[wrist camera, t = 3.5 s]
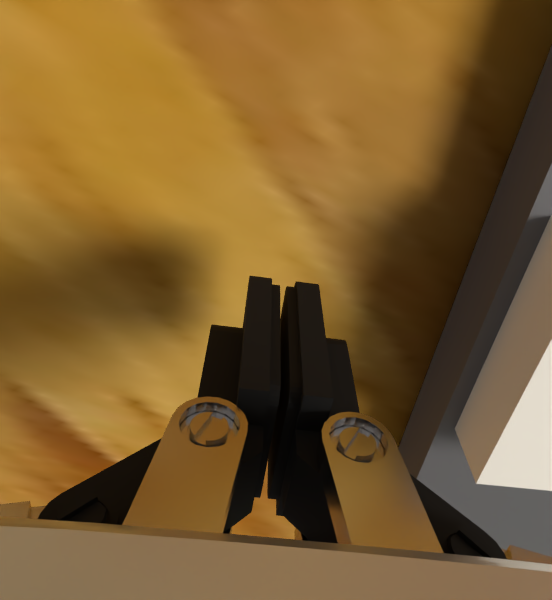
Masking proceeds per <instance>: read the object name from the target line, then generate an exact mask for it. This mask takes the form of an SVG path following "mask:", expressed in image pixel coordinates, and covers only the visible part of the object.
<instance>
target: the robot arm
mask: <svg viewBox="0 0 552 600" xmlns="http://www.w3.org/2000/svg"><path fill="white" fill-rule="evenodd" d="M267 461H268V498H269V499H276V515H279V516H284V517H285V518H286V519H287V520H288V521H289V522H290V523H292V524H293V525H294V526H295V527H296V529H295V540H292V539H281V538H270V537H258V536H247V535H235V534H231V532H232V526H234V525H235V524H236V523H237V522H239V521H240V520H241V519H243V518H244V517H245V516H247V515H248V514H249V513H251V511H252V506H253V501H254V497H259V498H260V496H261V491H262V486H263V481H264V476H265V471H266V466H267ZM0 600H552V557H549V556H546V555H543V554H539V553H536V552H533V551H529V550H526V549H523V548H519V547H516V546H513V545H509V547H508V548H507V550H505V549H502V548H500V546H499V545H498V544H497V542H496V541H495V540H494V539H493V538H491V537H490V536H489V535H488V534H487V533H486V532H485V531H484V530H482V529H481V528H480V527H478V526H477V525H476V524H474V523H473V522H472V521H471V520H469V519H468V518H467V517H465V516H464V515H463V514H462V513H460V512H459V511H458V510H456V509H455V508H454V507H452V506H451V505H450V504H449V503H447V502H446V501H445V500H443V499H442V498H441V497H439V496H438V495H437V494H436V493H434V492H433V491H432V490H430V489H429V488H428V487H426V486H425V485H424V484H423V483H421V482H420V481H419V480H417V479H416V478H415V477H413V476H412V475H411V474H410V473H409V472H408V469H407V467H406V465H405V462H404V460H403V458H402V456H401V453H400V451H399V449H398V446H397V444H396V442H395V439H394V438H393V436H392V434H391V433H390V431H389V430H388V429H387V428H386V427H385V426H384V425H383V424H382V423H381V422H379V421H378V420H376V419H374V418H372V417H371V416H368V415H365V414H362V413H360V412H359V407H358V402H357V396H356V391H355V385H354V380H353V375H352V369H351V364H350V358H349V353H348V348H347V344H346V341H345V340H338V339H330V338H326V336H325V328H324V321H323V313H322V305H321V298H320V290H319V285H318V284H312V283H303V282H296V283H295V286H294V287H288V286H287V287H286V291H285V296H284V302H283V307H282V313H281V319H280V285H272V279H271V278H263V277H255V276H250V277H249V284H248V292H247V299H246V307H245V314H244V322H243V328H236V327H228V326H219V325H211V329H210V335H209V340H208V345H207V351H206V356H205V361H204V367H203V372H202V377H201V382H200V388H199V393H198V398H195V399H192V400H189V401H186V402H185V403H184V404H182V405H181V406H179V407H178V408H177V409H176V411H175V412H174V414H173V415H172V417H171V419H170V421H169V424H168V426H167V428H166V430H165V432H164V435H163V437H162V438H161V439H160V440H158V441H156V442H154V443H152V444H150V445H149V446H147V447H145V448H143V449H141V450H140V451H138V452H136V453H134V454H132V455H130V456H129V457H127V458H125V459H123V460H121V461H120V462H118V463H116V464H114V465H112V466H110V467H109V468H107V469H105V470H103V471H101V472H100V473H98V474H96V475H94V476H92V477H90V478H89V479H87V480H85V481H83V482H81V483H80V484H78V485H76V486H74V487H72V488H70V489H69V490H67V491H65V492H63V493H61V494H60V495H59V496H57V497H56V498H54V499H53V500H52V501H50V502H49V503H48V504H47V506H39V507H31V504H30V501H27V502H18V503H9V504H0Z"/></svg>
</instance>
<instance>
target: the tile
mask: <svg viewBox="0 0 552 600" xmlns="http://www.w3.org/2000/svg"><path fill="white" fill-rule="evenodd" d="M455 431H456V433H457V436H458V438H459V441H460V444H461V446H462V449H463V451H464V454H465V457H466V459H467V462H468V464H469V467H470V469H471V472H472V475H473V477H474V480H475V482H476V484H485V485H495V486H506V487H516V488H526V489H537V490H547V491H552V216H551V217H550V219H549V221H548V223H547V226H546V228H545V230H544V232H543V234H542V237H541V239H540V241H539V243H538V245H537V248H536V250H535V252H534V254H533V257H532V259H531V261H530V263H529V265H528V268H527V270H526V272H525V274H524V276H523V279H522V281H521V283H520V285H519V288H518V290H517V292H516V294H515V296H514V299H513V301H512V303H511V305H510V307H509V310H508V312H507V314H506V316H505V319H504V321H503V323H502V325H501V327H500V330H499V332H498V334H497V336H496V338H495V341H494V343H493V345H492V347H491V350H490V352H489V354H488V356H487V358H486V361H485V363H484V365H483V367H482V369H481V372H480V374H479V376H478V378H477V381H476V383H475V385H474V387H473V389H472V392H471V394H470V396H469V398H468V400H467V403H466V405H465V407H464V409H463V412H462V414H461V416H460V418H459V420H458V423H457V425H456V427H455Z"/></svg>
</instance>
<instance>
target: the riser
mask: <svg viewBox="0 0 552 600" xmlns="http://www.w3.org/2000/svg"><path fill="white" fill-rule="evenodd" d="M551 216H552V46H551V49H550V51H549V54H548V56H547V59H546V62H545V64H544V67H543V70H542V72H541V75H540V77H539V80H538V83H537V85H536V88H535V91H534V93H533V96H532V98H531V101H530V104H529V106H528V109H527V112H526V114H525V117H524V119H523V122H522V125H521V127H520V130H519V133H518V135H517V138H516V140H515V143H514V146H513V148H512V151H511V154H510V156H509V159H508V161H507V164H506V167H505V169H504V172H503V175H502V177H501V180H500V182H499V185H498V188H497V190H496V193H495V196H494V198H493V201H492V203H491V206H490V209H489V211H488V214H487V217H486V219H485V222H484V224H483V227H482V230H481V232H480V235H479V238H478V240H477V243H476V245H475V248H474V251H473V253H472V256H471V259H470V261H469V264H468V266H467V269H466V272H465V274H464V277H463V280H462V282H461V285H460V287H459V290H458V293H457V295H456V298H455V301H454V303H453V306H452V308H451V311H450V314H449V316H448V319H447V322H446V324H445V327H444V329H443V332H442V335H441V337H440V340H439V343H438V345H437V348H436V350H435V353H434V356H433V358H432V361H431V364H430V366H429V369H428V371H427V374H426V377H425V379H424V382H423V385H422V387H421V390H420V392H419V395H418V398H417V400H416V403H415V406H414V408H413V411H412V413H411V416H410V419H409V421H408V424H407V427H406V429H405V432H404V434H403V437H402V440H401V442H400V445H399V448H398V449H399V451H400V453H401V456H402V458H403V460H404V462H405V465H406V467H407V469H408V472H409V473H410V474H411V475H412V476H413V477H415V478H416V479H417V480H419V481H420V482H421V483H423V484H424V485H425V486H426V487H428V488H429V489H430V490H432V491H433V492H434V493H436V494H437V495H438V496H439V497H441V498H442V499H443V500H445V501H446V502H447V503H449V504H450V505H451V506H452V507H454V508H455V509H456V510H458V511H459V512H460V513H462V514H463V515H464V516H465V517H467V518H468V519H469V520H471V521H472V522H473V523H474V524H476V525H477V526H478V527H480V528H481V529H482V530H484V531H485V532H486V533H487V534H488V535H489V536H490V537H491V538H493V539H494V540H495V541H496V542H497V544H498V545H499V546H500V548H502V549H505V550H507V548H508V547H509V545H513V546H516V547H519V548H523V549H526V550H529V551H533V552H536V553H539V554H543V555H546V556H549V557H552V491H547V490H537V489H526V488H516V487H506V486H495V485H485V484H476V482H475V480H474V477H473V475H472V472H471V469H470V467H469V464H468V462H467V459H466V457H465V454H464V451H463V449H462V446H461V444H460V441H459V438H458V436H457V433H456V431H455V427H456V425H457V423H458V420H459V418H460V416H461V414H462V412H463V409H464V407H465V405H466V403H467V400H468V398H469V396H470V394H471V392H472V389H473V387H474V385H475V383H476V381H477V378H478V376H479V374H480V372H481V369H482V367H483V365H484V363H485V361H486V358H487V356H488V354H489V352H490V350H491V347H492V345H493V343H494V341H495V338H496V336H497V334H498V332H499V330H500V327H501V325H502V323H503V321H504V319H505V316H506V314H507V312H508V310H509V307H510V305H511V303H512V301H513V299H514V296H515V294H516V292H517V290H518V288H519V285H520V283H521V281H522V279H523V276H524V274H525V272H526V270H527V268H528V265H529V263H530V261H531V259H532V257H533V254H534V252H535V250H536V248H537V245H538V243H539V241H540V239H541V237H542V234H543V232H544V230H545V228H546V226H547V223H548V221H549V219H550V217H551Z"/></svg>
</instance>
